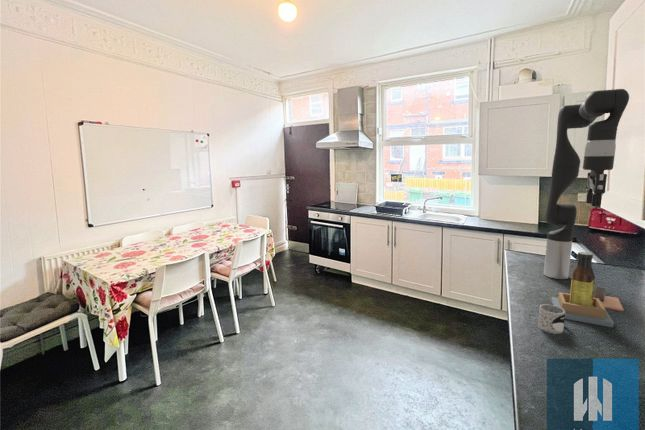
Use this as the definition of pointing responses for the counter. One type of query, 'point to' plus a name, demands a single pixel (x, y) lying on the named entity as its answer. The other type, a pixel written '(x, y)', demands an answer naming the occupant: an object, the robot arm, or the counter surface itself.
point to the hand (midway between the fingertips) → (592, 204)
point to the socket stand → (583, 311)
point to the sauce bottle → (583, 281)
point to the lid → (607, 299)
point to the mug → (551, 319)
